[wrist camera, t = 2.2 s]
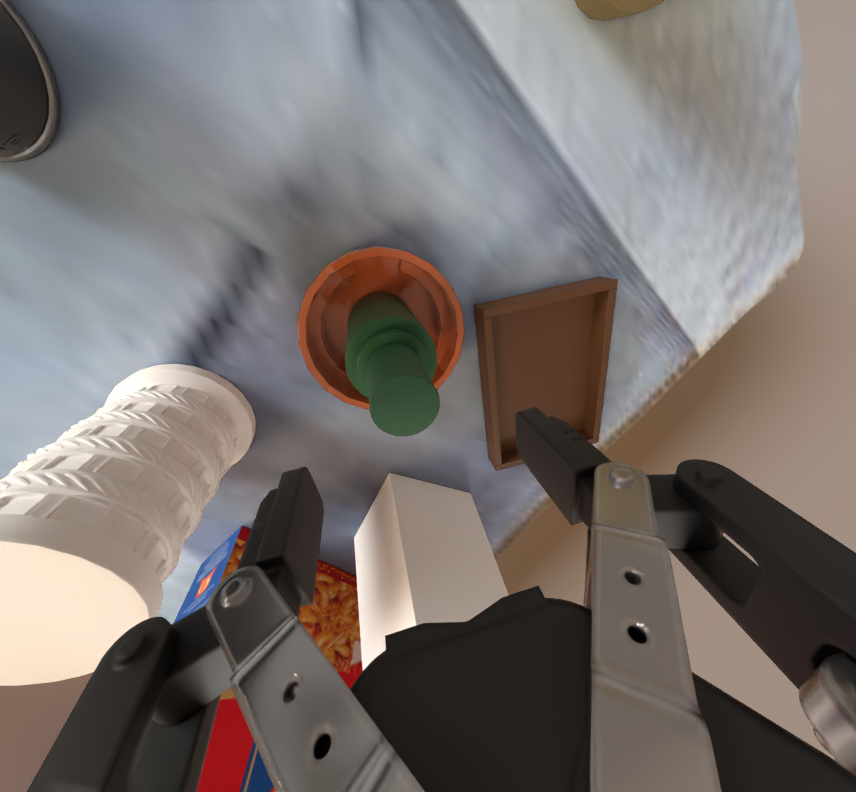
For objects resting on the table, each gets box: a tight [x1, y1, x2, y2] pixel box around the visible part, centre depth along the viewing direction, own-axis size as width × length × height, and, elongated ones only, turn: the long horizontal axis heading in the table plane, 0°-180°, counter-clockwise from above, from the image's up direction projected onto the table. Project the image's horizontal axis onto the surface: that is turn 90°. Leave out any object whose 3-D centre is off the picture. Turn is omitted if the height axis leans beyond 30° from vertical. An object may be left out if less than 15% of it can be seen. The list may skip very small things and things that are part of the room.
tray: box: [474, 277, 618, 471], centre depth 35 cm, size 20×14×3 cm
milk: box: [354, 473, 509, 670], centre depth 30 cm, size 12×12×26 cm
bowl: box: [298, 246, 464, 410], centre depth 27 cm, size 13×13×5 cm
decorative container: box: [0, 364, 256, 685], centre depth 22 cm, size 12×12×18 cm
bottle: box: [345, 292, 440, 436], centre depth 22 cm, size 6×6×16 cm
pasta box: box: [174, 526, 363, 792], centre depth 32 cm, size 28×8×28 cm, turn 42°
